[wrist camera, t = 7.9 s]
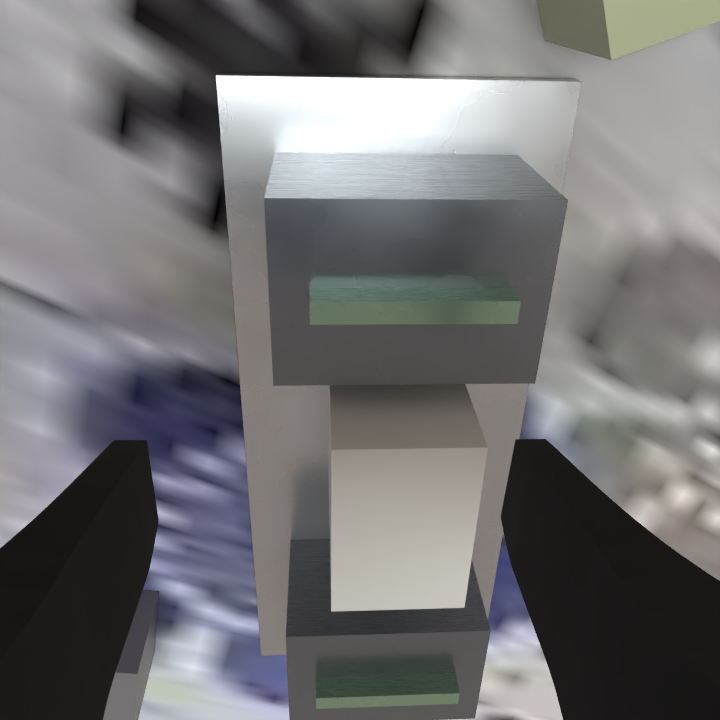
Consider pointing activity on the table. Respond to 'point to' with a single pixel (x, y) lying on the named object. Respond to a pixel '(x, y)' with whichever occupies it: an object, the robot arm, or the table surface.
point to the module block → (402, 495)
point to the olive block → (621, 23)
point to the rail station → (383, 335)
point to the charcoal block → (134, 662)
